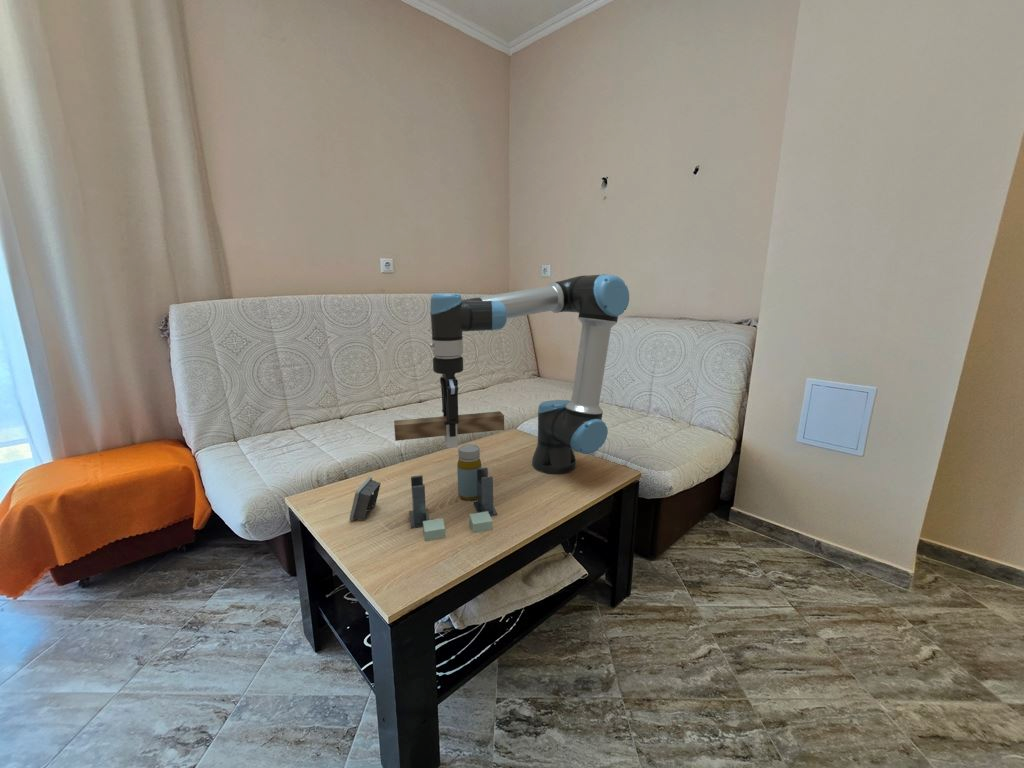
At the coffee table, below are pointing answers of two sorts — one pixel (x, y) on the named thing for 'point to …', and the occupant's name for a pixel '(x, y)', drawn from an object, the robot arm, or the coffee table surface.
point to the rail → (437, 427)
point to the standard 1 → (418, 503)
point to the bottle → (468, 471)
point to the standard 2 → (484, 492)
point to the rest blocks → (437, 528)
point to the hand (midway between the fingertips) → (451, 443)
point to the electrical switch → (365, 499)
